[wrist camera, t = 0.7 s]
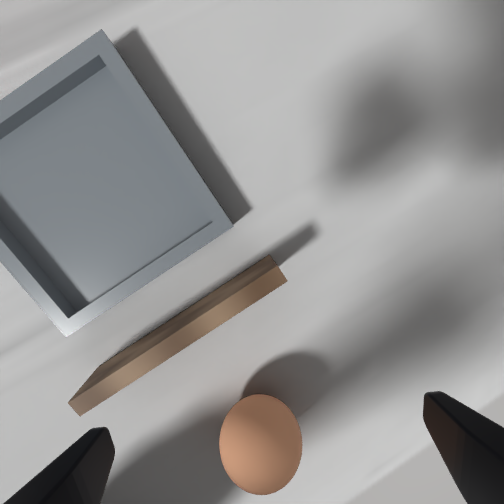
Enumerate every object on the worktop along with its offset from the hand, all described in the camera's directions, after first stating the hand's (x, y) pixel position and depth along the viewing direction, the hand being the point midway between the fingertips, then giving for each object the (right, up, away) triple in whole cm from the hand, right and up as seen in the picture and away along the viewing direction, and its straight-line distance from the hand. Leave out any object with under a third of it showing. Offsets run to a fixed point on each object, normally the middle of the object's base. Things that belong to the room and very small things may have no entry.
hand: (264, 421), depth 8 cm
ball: (0, -9, +12) cm, 15 cm away
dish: (-11, +9, +12) cm, 19 cm away
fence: (-5, 0, +14) cm, 15 cm away
